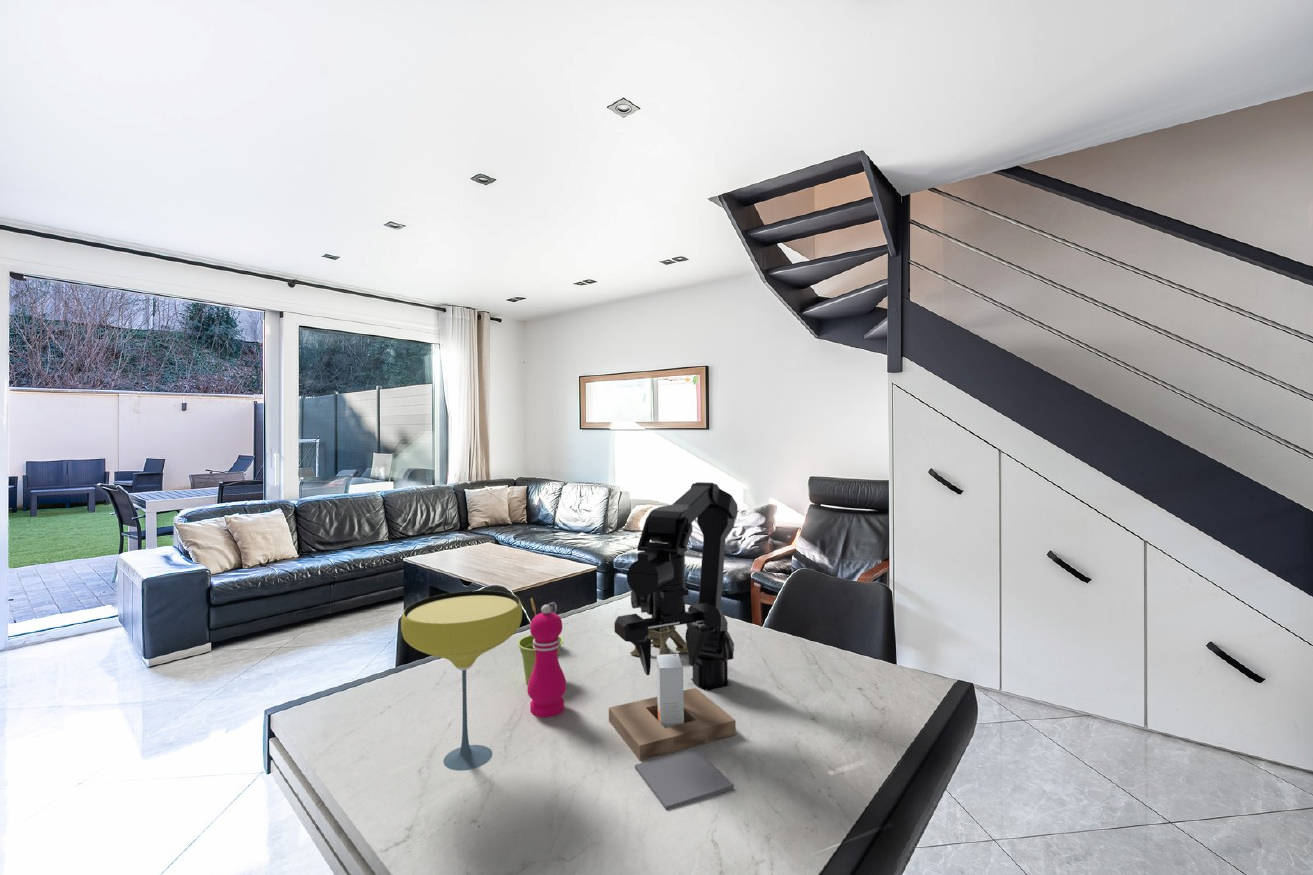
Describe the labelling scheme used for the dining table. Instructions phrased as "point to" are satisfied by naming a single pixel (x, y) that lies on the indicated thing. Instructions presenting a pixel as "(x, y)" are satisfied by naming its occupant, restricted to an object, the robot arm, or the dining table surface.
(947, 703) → the dining table surface
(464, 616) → the cocktail glass
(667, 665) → the skincare box
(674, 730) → the holder block
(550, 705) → the pepper mill
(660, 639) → the eiffel tower
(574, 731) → the dining table surface
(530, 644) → the plant pot
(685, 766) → the coaster
